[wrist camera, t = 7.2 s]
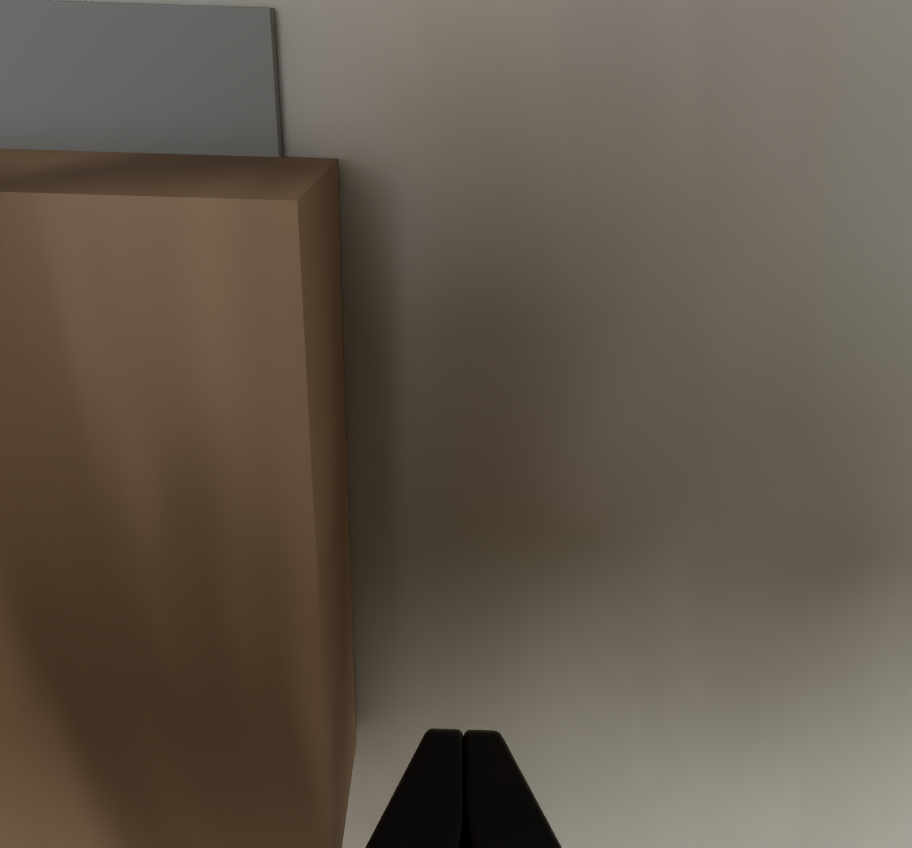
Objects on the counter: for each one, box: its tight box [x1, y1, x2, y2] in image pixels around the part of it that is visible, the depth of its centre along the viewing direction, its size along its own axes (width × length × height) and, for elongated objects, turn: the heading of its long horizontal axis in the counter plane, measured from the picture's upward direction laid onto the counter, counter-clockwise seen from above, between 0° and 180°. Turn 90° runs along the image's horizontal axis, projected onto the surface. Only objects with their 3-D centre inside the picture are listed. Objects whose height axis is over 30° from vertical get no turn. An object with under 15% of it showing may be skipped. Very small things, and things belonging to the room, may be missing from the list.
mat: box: [0, 0, 283, 157], centre depth 15 cm, size 11×16×1 cm
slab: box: [0, 149, 356, 848], centre depth 13 cm, size 4×12×9 cm
